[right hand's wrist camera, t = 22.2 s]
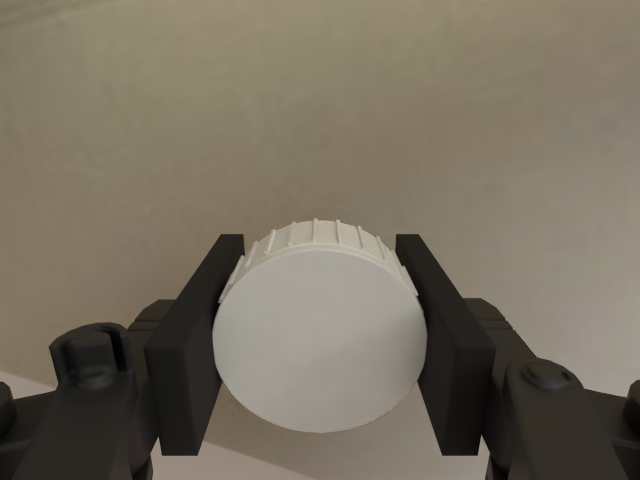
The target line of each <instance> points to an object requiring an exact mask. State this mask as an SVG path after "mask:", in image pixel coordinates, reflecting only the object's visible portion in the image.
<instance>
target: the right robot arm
mask: <svg viewBox="0 0 640 480" xmlns="http://www.w3.org/2000/svg"><path fill="white" fill-rule="evenodd" d="M395 253H396V255H397V258H398V260H399V262H400V264H401V266H402V267H403V266H405V268H406V270H407V272H408V274H409V276H410V279H411V281H412V283H413V285H414V287H415V289H416V291H417V293H418V296H417V298H418V301H419V303H420V305H421V307H422V309H423V311H424V318H425V322H426V327H427V345H426V355H425V362H424V366H423V369H422V371H421V373H420V376H419V378H418V380H417V382H418V385H419V388H420V391H421V394H422V397H423V400H424V403H425V406H426V409H427V412H428V415H429V418H430V421H431V424H432V427H433V430H434V433H435V436H436V438H437V441H438V444H439V447H440V450H441V453H442V456H478V451H479V445H480V439H481V435H482V437H483V439H484V441H485V443H486V445H487V447H488V449H489V452H490V455H489V461H488V466H487V471H486V477H485V480H640V380H636V381H635V382H634V383H633V384H631V386H630V389H629V392H628V395H627V398H625V397H620V396H616V395H611V394H606V393H601V392H596V391H592V390H588V389H584V388H583V386H582V384H581V382H580V381H579V380H578V378H577V377H576V376H575V375H574V374H573V373H572V372H570V371H569V370H567V369H566V368H564V367H563V366H561V365H559V364H556V363H554V362H552V361H550V360H546V359H541V358H537V357H536V356H535V354H534V353H533V352H532V351H531V350H530V348H529V347H528V346H527V345H526V343H525V342H524V341H523V340H522V339H521V337H520V336H519V335H518V334H517V332H516V331H515V330H513V328H512V326H511V325H510V324H509V323H508V321H505V318H504V316H503V315H502V314H501V313H500V312H499V310H498V309H497V308H496V307H494V306H493V305H491V304H490V303H488V302H486V301H485V300H483V299H482V298H462V297H461V295H460V294H459V292H458V291H457V289H456V288H455V286H454V285H453V284H452V282H451V281H450V279H449V278H448V276H447V275H446V273H445V272H444V271H443V269H442V268H441V266H440V265H439V263H438V262H437V260H436V259H435V257H434V256H433V255H432V253H431V252H430V250H429V249H428V247H427V246H426V244H425V243H424V242H423V240H422V239H421V237H420V236H419V234H396V247H395ZM242 255H243V256H244V257H245V251H244V237H243V234H221V235H220V237H219V238H218V240H217V241H216V243H215V244H214V246H213V247H212V248H211V250H210V251H209V253H208V254H207V256H206V257H205V259H204V260H203V261H202V263H201V264H200V266H199V267H198V269H197V270H196V272H195V273H194V275H193V276H192V277H191V279H190V280H189V282H188V283H187V285H186V286H185V288H184V289H183V290H182V292H181V293H180V295H179V296H178V298H177V299H176V300H157V301H156V302H154V303H153V304H151V305H149V306H148V307H146V308H145V309H143V310H142V312H141V313H140V314H139V315H138V317H137V318H136V319H135V322H133V323H132V324H131V325H130V327H129V328H128V329H126V328H124V327H123V326H122V325H120V324H116V323H111V322H107V323H94V324H89V325H85V326H81V327H78V328H76V329H73V330H71V331H68V332H66V333H65V334H63V335H61V336H60V337H58V338H57V339H55V341H54V342H53V343H52V344H51V345H50V346H49V350H50V353H51V357H52V361H53V365H54V368H55V372H56V376H57V379H58V383H59V384H58V386H57V388H56V390H55V391H52V392H48V393H43V394H38V395H33V396H29V397H24V398H19V399H13V396H12V393H11V390H10V387H9V386H8V385H6V384H5V383H4V382H0V480H152V476H153V468H152V461H151V455H150V453H151V451H152V449H153V447H154V444H155V442H156V440H157V438H158V436H159V441H160V446H161V452H162V456H197V455H198V452H199V449H200V447H201V444H202V441H203V438H204V435H205V432H206V429H207V426H208V423H209V420H210V417H211V414H212V411H213V408H214V405H215V402H216V399H217V396H218V393H219V390H220V387H221V384H222V381H223V380H222V379H221V377H220V375H219V372H218V370H217V367H216V364H215V358H214V349H213V338H212V330H213V325H214V320H215V317H216V314H217V311H218V309H219V306H220V304H221V303H218V301H219V299H220V297H221V294H222V292H223V290H224V288H225V286H226V284H227V282H228V280H229V278H230V276H231V274H232V272H234V270H235V268H236V265H237V263H238V261H239V259H240V257H241V256H242Z"/></svg>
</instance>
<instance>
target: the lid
mask: <svg viewBox="0 0 640 480" xmlns="http://www.w3.org/2000/svg"><path fill="white" fill-rule="evenodd" d="M417 296H418V293H417V291H416V289H415V287H414V285H413V283H412V281H411V279H410V276H409V274H408V272H407V270H406V268H405V266H403V267H402V266H401V264H400V262H399V260H398V258H397V255H396V253H395V251H394V250H391V251H390V250H389V249H388V248H387V247H386V246H385V245H384V244H383V243H382V242H381V239H380V237H378V236H376V237H374V236H372V235H371V234H369V233H367V232H365V231H364V230H362V228H361V227H360V226H357V227H354V226H352V225H348V224H344V223H340V220H336V222H334V221H318V218H314V221H306V222H300V223H296V222H295V221H294V222H292V223H291V225H288V226H286V227H283V228H281V229H278V230H275V229H273V230H271V233H270V234H269V235H267V236H266V237H264V238H263V239H262V240H260V241H259V242H258V241H257V240H256V241H255V242H254V243H253V246H252V248H251V249H250V250H249V251H248V253H247V254H246V255H245V257H244V256H243V255H242V256H241V257H240V259H239V261H238V263H237V265H236V268H235V270H234V272H232V274H231V276H230V278H229V280H228V282H227V284H226V286H225V288H224V290H223V292H222V294H221V297H220V299H219V301H218V303H221V304H220V306H219V309H218V311H217V314H216V317H215V320H214V325H213V330H212V338H213V349H214V358H215V364H216V367H217V370H218V372H219V375H220V377H221V379H222V380H223V382H224V384H225V386H226V387H227V389H228V390H229V391H230V392H231V394H232V395H233V396H234V397H235V398H236V399H237V400H238V401H239V402H240V403H241V404H242V405H243V406H244V407H245V408H247V409H248V410H249V411H251V412H252V413H253V414H255V415H257V416H258V417H260V418H262V419H264V420H266V421H268V422H270V423H272V424H275V425H277V426H281V427H284V428H287V429H291V430H296V431H301V432H310V433H329V432H339V431H344V430H349V429H353V428H356V427H359V426H362V425H365V424H367V423H369V422H372V421H374V420H376V419H378V418H379V417H381V416H383V415H384V414H386V413H387V412H389V411H390V410H391V409H393V408H394V407H395V406H397V405H398V404H399V403H400V402H401V401H402V400H403V399H404V398H405V397H406V395H407V394H408V393H409V392H410V391H411V389H412V388H413V386H414V385H415V383H416V381H417V380H418V378H419V376H420V373H421V371H422V369H423V366H424V362H425V355H426V345H427V327H426V322H425V318H424V311H423V309H422V307H421V305H420V303H419V301H418V298H417Z"/></svg>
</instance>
